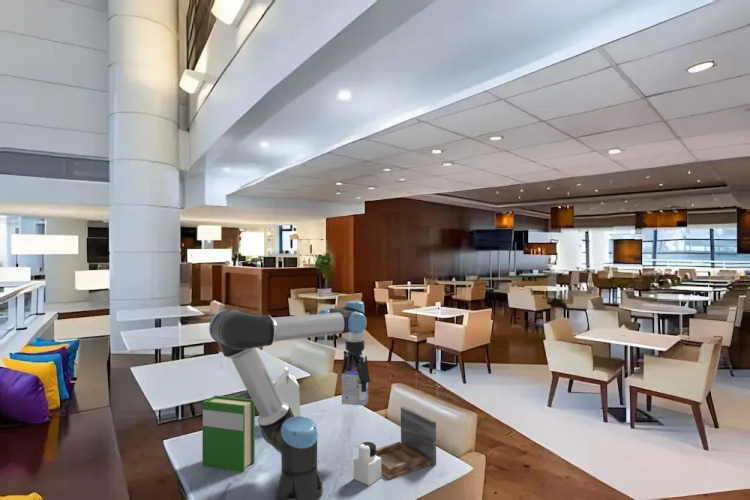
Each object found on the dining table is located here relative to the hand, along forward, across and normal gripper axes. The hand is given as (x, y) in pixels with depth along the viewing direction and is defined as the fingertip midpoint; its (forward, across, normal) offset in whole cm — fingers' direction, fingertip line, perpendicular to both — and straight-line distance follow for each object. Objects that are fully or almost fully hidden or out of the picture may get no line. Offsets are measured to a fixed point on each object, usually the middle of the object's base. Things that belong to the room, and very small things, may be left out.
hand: (355, 395), depth 170 cm
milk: (+23, +44, +10) cm, 51 cm away
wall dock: (+23, -15, -10) cm, 29 cm away
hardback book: (+23, +20, +44) cm, 53 cm away
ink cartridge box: (+3, 0, 0) cm, 3 cm away
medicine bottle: (+23, -19, +7) cm, 30 cm away
